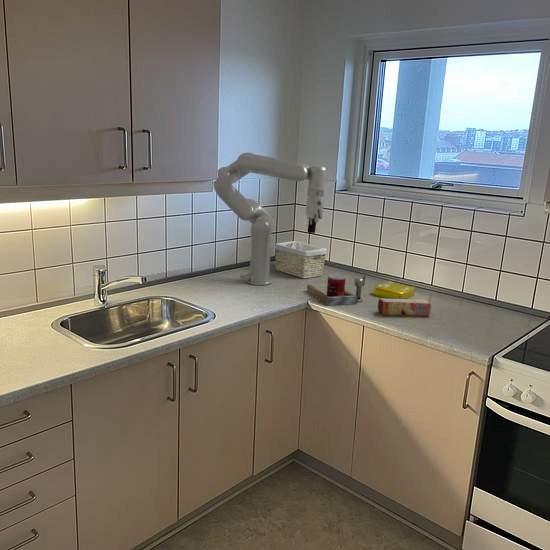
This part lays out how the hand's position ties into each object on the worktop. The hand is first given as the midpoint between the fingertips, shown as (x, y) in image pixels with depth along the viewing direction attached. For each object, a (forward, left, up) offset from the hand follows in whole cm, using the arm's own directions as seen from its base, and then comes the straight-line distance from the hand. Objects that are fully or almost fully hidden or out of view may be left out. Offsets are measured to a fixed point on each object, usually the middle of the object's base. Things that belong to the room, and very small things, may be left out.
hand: (311, 232), depth 257 cm
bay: (+4, -17, -26) cm, 32 cm away
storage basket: (+7, +25, -27) cm, 37 cm away
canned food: (+4, -22, -27) cm, 35 cm away
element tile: (+35, -20, -27) cm, 49 cm away
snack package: (+24, -45, -27) cm, 58 cm away
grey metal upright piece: (+13, -25, -26) cm, 39 cm away
